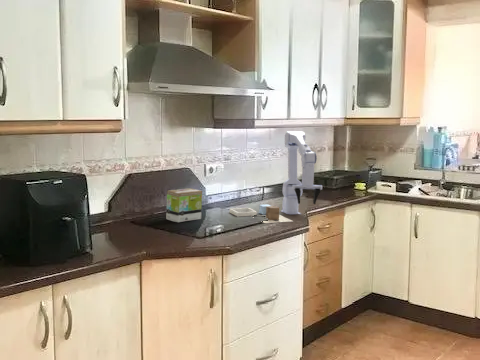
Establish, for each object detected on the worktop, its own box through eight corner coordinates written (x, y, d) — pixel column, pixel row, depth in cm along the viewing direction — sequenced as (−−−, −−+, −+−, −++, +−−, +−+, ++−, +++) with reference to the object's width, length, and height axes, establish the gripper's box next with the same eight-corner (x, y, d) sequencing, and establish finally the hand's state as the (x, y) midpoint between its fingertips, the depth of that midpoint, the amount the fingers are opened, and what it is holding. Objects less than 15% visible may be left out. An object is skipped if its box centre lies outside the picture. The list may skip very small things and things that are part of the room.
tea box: (178, 223, 273) (179, 193, 271) (165, 219, 280) (166, 190, 278) (201, 219, 284) (202, 190, 282) (188, 215, 291) (189, 187, 289)
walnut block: (265, 217, 288) (266, 206, 288) (274, 217, 290) (275, 205, 289) (270, 219, 284) (270, 208, 283) (279, 219, 286) (279, 207, 285)
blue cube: (259, 214, 301) (259, 204, 301) (267, 213, 303) (267, 204, 302) (262, 215, 297) (263, 206, 296) (271, 215, 298) (271, 206, 298)
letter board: (251, 217, 292) (251, 216, 291) (279, 215, 297) (279, 214, 297) (264, 223, 277) (264, 222, 277) (293, 222, 283) (293, 221, 283)
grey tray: (229, 213, 300) (229, 208, 300) (248, 212, 304) (248, 207, 304) (237, 217, 290) (237, 212, 290) (256, 216, 294) (256, 211, 294)
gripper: (294, 177, 273) (293, 204, 275) (324, 177, 274) (322, 205, 276) (292, 175, 280) (291, 202, 282) (321, 175, 281) (320, 202, 283)
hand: (306, 203), depth 280 cm, fingers open, 7 cm apart
